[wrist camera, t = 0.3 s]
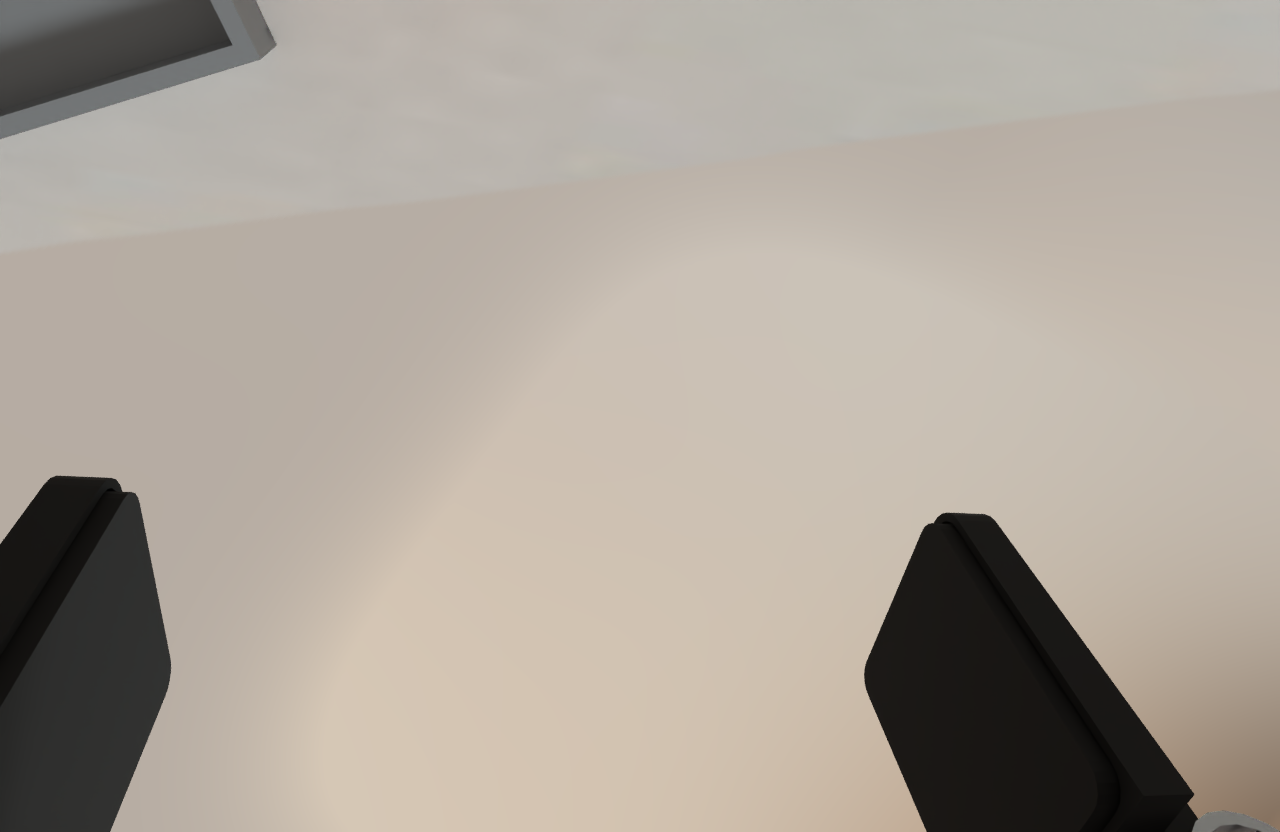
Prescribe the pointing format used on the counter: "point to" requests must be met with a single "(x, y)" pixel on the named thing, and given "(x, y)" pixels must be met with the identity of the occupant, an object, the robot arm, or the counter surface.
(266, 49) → the gray rectangular frame
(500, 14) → the counter surface
